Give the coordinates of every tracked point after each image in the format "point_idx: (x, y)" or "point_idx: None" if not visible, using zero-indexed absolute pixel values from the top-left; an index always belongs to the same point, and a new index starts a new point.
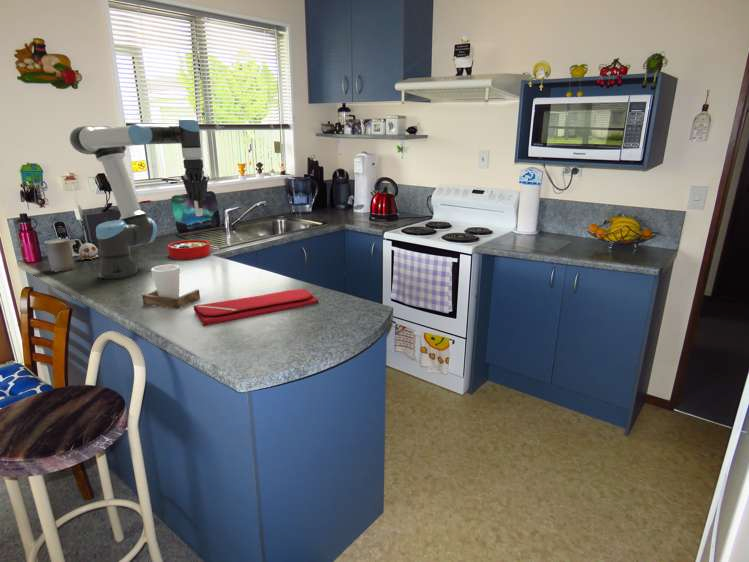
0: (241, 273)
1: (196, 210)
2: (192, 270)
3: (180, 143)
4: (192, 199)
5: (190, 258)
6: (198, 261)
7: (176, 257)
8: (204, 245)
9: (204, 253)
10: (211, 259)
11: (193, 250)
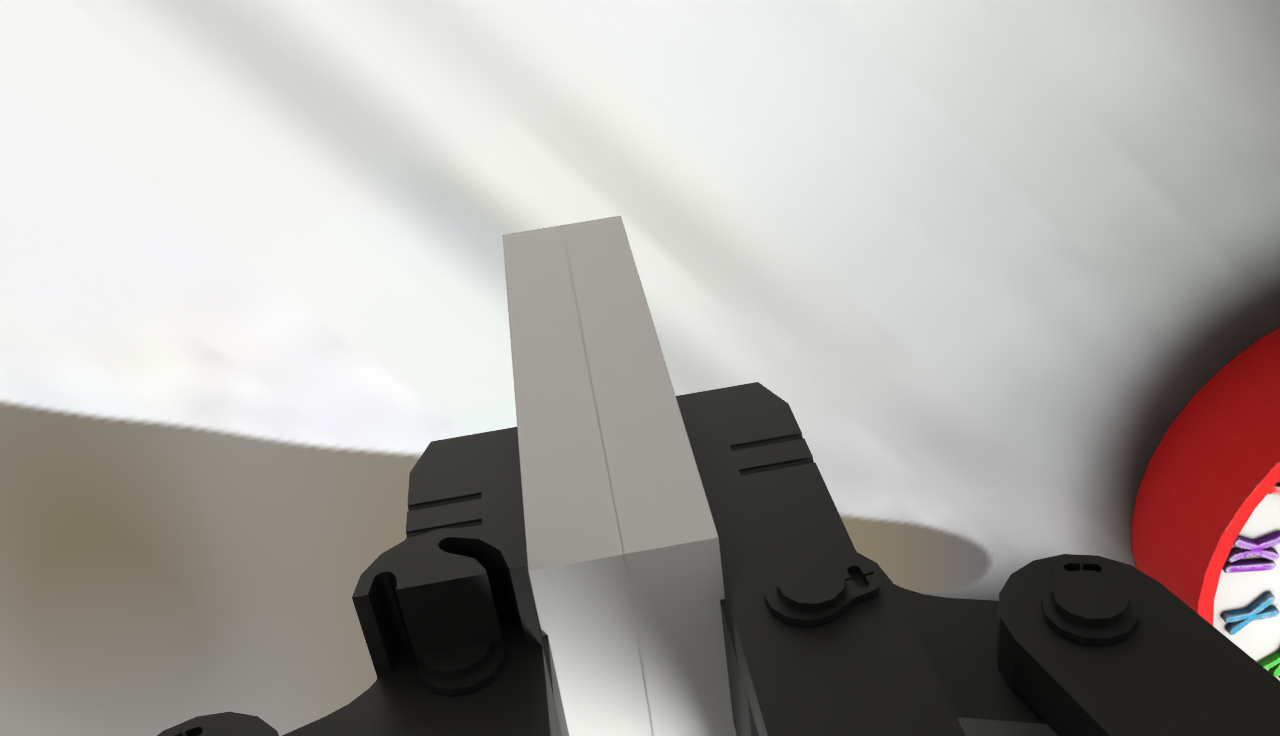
0: (176, 226)
1: (584, 316)
2: (854, 27)
3: None
4: (825, 563)
5: (1226, 370)
6: (1063, 340)
7: None
8: (1197, 598)
9: (1151, 527)
10: (977, 460)
11: (1246, 453)
